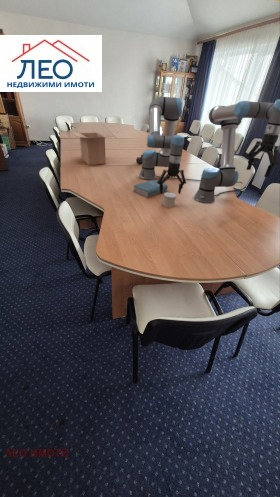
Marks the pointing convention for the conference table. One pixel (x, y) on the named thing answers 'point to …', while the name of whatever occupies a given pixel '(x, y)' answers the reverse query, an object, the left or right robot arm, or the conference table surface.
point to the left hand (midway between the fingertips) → (170, 193)
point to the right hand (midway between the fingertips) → (256, 173)
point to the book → (149, 188)
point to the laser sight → (139, 159)
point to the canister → (169, 199)
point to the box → (92, 146)
